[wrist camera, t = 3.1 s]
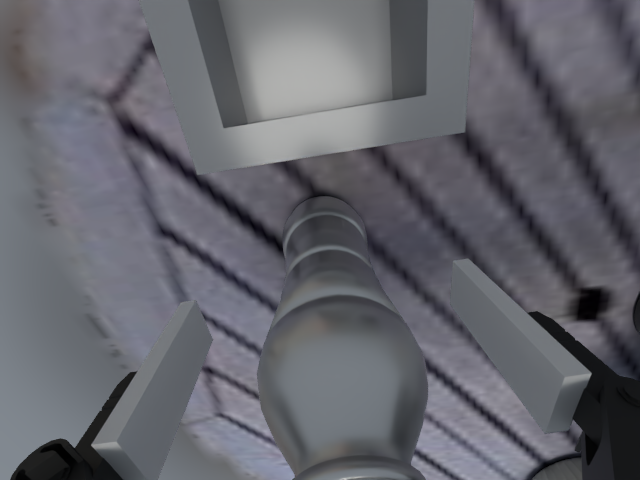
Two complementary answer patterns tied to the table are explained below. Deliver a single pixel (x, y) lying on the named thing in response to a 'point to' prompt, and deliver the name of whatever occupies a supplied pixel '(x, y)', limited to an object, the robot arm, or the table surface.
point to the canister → (562, 470)
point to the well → (310, 74)
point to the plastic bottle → (339, 357)
